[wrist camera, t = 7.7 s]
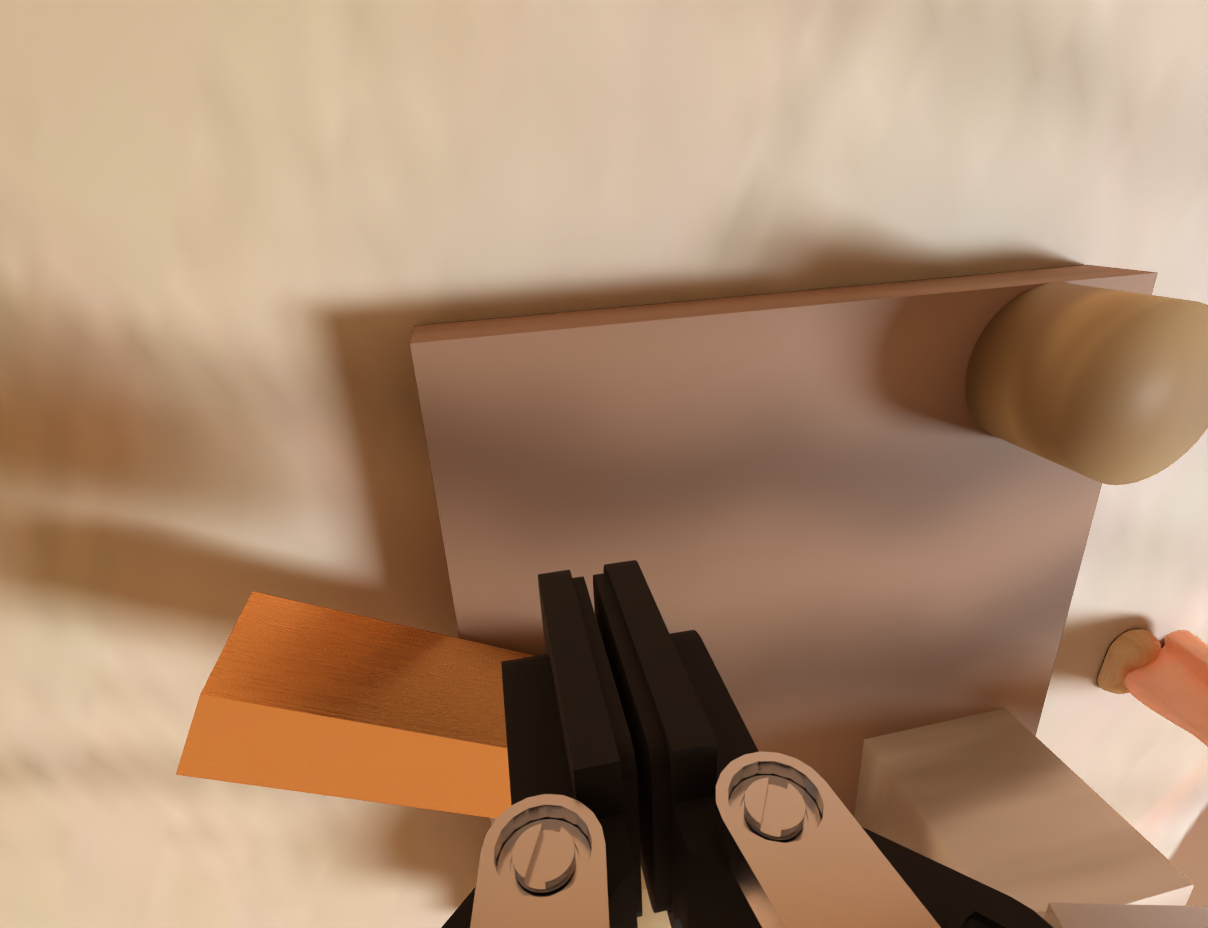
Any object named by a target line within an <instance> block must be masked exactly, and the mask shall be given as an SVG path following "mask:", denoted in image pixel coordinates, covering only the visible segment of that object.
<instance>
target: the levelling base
mask: <svg viewBox="0 0 1208 928" xmlns="http://www.w3.org/2000/svg"><path fill="white" fill-rule="evenodd" d="M1156 277H1157V273H1156V272H1147V271H1138V270H1129V269H1120V268H1111V267H1102V266H1093V265H1080V266H1069V267H1058V268H1047V269H1036V270H1025V271H1014V272H1003V273H992V274H981V275H970V276H959V277H948V278H937V279H925V280H914V281H903V282H892V283H881V284H870V285H859V286H848V287H837V288H826V289H815V290H804V291H793V292H782V293H771V294H760V295H749V296H738V297H727V298H715V299H704V300H693V301H682V302H671V303H660V304H649V305H638V306H627V307H616V308H605V309H594V310H583V311H572V312H561V313H550V314H539V315H528V316H516V317H505V318H494V319H483V320H472V321H461V322H450V323H439V324H428V325H417V326H415V327H414V331H413V334H412V338H411V341H410V348H411V354H412V360H413V365H414V371H415V377H416V383H417V389H418V395H419V401H420V407H421V413H422V419H423V425H424V431H425V437H426V442H427V448H428V454H429V460H430V466H431V472H432V478H433V484H434V490H435V496H436V502H437V508H438V514H439V519H440V525H441V531H442V537H443V543H444V549H445V555H446V561H447V567H448V573H449V579H450V585H451V591H452V596H453V602H454V608H455V614H456V620H457V626H458V632H459V638H460V639H464V640H468V641H472V642H477V643H481V644H485V645H490V646H494V647H499V648H503V649H507V650H512V651H516V652H520V653H525V654H529V655H533V656H537V655H543V654H546V651H545V642H544V633H543V623H542V614H541V604H540V595H539V586H538V574H543V573H550V572H556V571H563V570H570V572H571V575H572V578H575V577H582V576H583V577H584V579H585V582H586V585H587V589H588V592H589V596H590V599H591V603H592V606H593V609H594V613H595V608H594V593H593V575H595V574H602V573H603V569H604V564H611V563H618V562H625V561H631V560H636V561H637V562H638V564H639V566H640V568H641V571H642V573H643V575H644V577H645V580H646V582H647V584H648V586H649V589H650V591H651V593H652V595H653V598H654V600H655V602H656V604H657V607H658V609H659V611H660V613H661V616H662V618H663V620H664V622H665V625H666V627H667V629H668V632H669V634H670V633H676V632H683V631H689V630H695V631H697V632H698V634H699V635H700V637H701V638H702V640H703V642H704V644H705V646H706V648H707V650H708V652H709V654H710V656H711V658H712V660H713V662H714V664H715V666H716V668H717V670H718V672H719V674H720V676H721V678H722V680H723V682H724V684H725V686H726V688H727V690H728V692H729V694H730V696H731V698H732V700H733V702H734V704H735V706H736V707H737V709H738V711H739V713H740V715H741V717H742V719H743V721H744V723H745V725H746V727H747V729H748V731H749V733H750V735H751V737H752V739H753V741H754V743H755V745H756V747H757V749H758V751H759V752H760V751H762V752H776V753H781V754H784V755H787V756H790V757H794V758H796V759H798V760H800V761H801V762H803V763H805V764H806V765H808V766H810V767H812V768H813V769H814V770H815V771H816V772H817V773H818V774H819V775H820V776H821V777H822V778H823V779H824V780H825V781H826V782H827V784H828V785H829V786H830V787H831V789H832V790H833V791H834V793H835V794H836V795H837V796H838V798H839V799H840V800H841V801H842V803H843V804H844V805H845V807H846V808H847V809H848V810H849V812H850V813H851V814H852V815H853V817H854V818H855V819H856V820H857V822H858V823H859V824H860V826H862V827H864V828H866V829H868V830H870V831H872V832H874V833H876V834H879V835H881V836H883V837H885V838H887V839H889V840H891V841H893V842H896V843H898V844H900V845H902V846H904V847H906V848H908V849H910V850H913V851H915V852H917V853H919V854H921V855H923V856H925V857H928V858H930V859H932V860H934V861H936V862H938V863H940V864H942V865H945V866H947V867H949V868H951V869H953V870H955V871H957V872H959V873H962V874H964V875H966V876H968V877H970V878H972V879H974V880H977V881H979V882H981V883H983V884H985V885H987V886H989V887H991V888H994V889H996V890H998V891H1000V892H1002V893H1004V894H1006V895H1008V896H1011V897H1012V898H1014V899H1016V900H1017V901H1019V902H1021V903H1022V904H1024V905H1026V906H1027V907H1029V908H1031V909H1032V910H1034V911H1036V912H1046V910H1047V907H1048V904H1049V903H1088V904H1131V905H1174V906H1185V905H1186V902H1187V900H1188V898H1189V896H1190V893H1191V891H1192V889H1193V887H1194V883H1192V882H1191V881H1190V880H1189V879H1188V878H1187V877H1186V876H1185V875H1184V874H1183V873H1181V871H1180V870H1179V869H1177V868H1176V867H1175V866H1174V865H1173V864H1172V863H1171V862H1170V861H1169V860H1168V859H1167V858H1166V857H1165V856H1163V855H1162V854H1161V853H1160V852H1159V851H1158V850H1157V849H1156V848H1155V847H1154V846H1153V845H1152V844H1151V843H1149V842H1148V841H1147V840H1146V839H1145V838H1144V837H1143V836H1142V835H1141V834H1140V833H1139V832H1138V831H1137V830H1135V829H1134V828H1133V827H1132V826H1131V825H1130V824H1129V823H1128V822H1127V821H1126V820H1125V819H1124V818H1123V817H1121V816H1120V815H1119V814H1118V813H1117V812H1116V811H1115V810H1114V809H1113V808H1112V807H1111V806H1110V805H1109V804H1107V803H1106V802H1105V801H1104V800H1103V799H1102V798H1101V797H1100V796H1099V795H1098V794H1097V793H1096V792H1095V791H1093V790H1092V789H1091V788H1090V787H1089V786H1088V785H1087V784H1086V783H1085V782H1084V781H1083V780H1082V779H1081V778H1079V777H1078V776H1077V775H1076V774H1075V773H1074V772H1073V771H1072V770H1071V769H1070V768H1069V767H1068V766H1067V765H1065V764H1064V763H1063V762H1062V761H1061V760H1060V759H1059V758H1058V757H1057V756H1056V755H1055V754H1054V753H1053V752H1051V751H1050V750H1049V749H1048V748H1047V747H1046V746H1045V745H1044V744H1043V743H1042V742H1041V741H1040V740H1039V739H1037V738H1036V737H1035V735H1036V732H1037V728H1038V724H1039V720H1040V717H1041V713H1042V709H1043V705H1044V701H1045V698H1046V694H1047V690H1048V686H1049V682H1050V679H1051V675H1052V671H1053V667H1054V663H1055V660H1056V656H1057V652H1058V648H1059V644H1060V641H1061V637H1062V633H1063V629H1064V626H1065V622H1066V618H1067V614H1068V610H1069V607H1070V603H1071V599H1072V595H1073V591H1074V588H1075V584H1076V580H1077V576H1078V572H1079V569H1080V565H1081V561H1082V557H1083V553H1084V550H1085V546H1086V542H1087V538H1088V535H1089V531H1090V527H1091V523H1092V519H1093V516H1094V512H1095V508H1096V504H1097V500H1098V497H1099V493H1100V489H1101V485H1102V483H1104V484H1110V485H1122V484H1129V483H1134V482H1138V481H1141V480H1143V479H1146V478H1149V477H1151V476H1153V475H1155V474H1157V473H1159V472H1160V471H1162V470H1164V469H1165V468H1167V467H1168V466H1170V465H1171V464H1173V463H1174V462H1175V461H1177V460H1178V459H1179V458H1180V457H1181V456H1183V455H1184V454H1185V453H1186V452H1187V451H1188V450H1189V449H1190V448H1191V447H1192V446H1193V445H1194V444H1195V443H1196V442H1197V441H1198V439H1199V438H1200V437H1201V436H1202V435H1203V433H1204V432H1205V431H1206V429H1207V428H1208V305H1206V304H1203V303H1200V302H1196V301H1189V300H1182V299H1175V298H1168V297H1161V296H1154V295H1152V292H1153V288H1154V284H1155V280H1156ZM495 820H496V819H495V818H490V822H491V826H492V824H493V823H494V821H495ZM642 911H643V914H642V916H641V917H637V923H638V928H671V925H670V921H669V917H668V914H667V911H663V912H659V913H654V912H653V910H652V907H651V903H650V900H649V896H648V892H647V889H642Z"/></svg>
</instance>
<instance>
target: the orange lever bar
mask: <svg viewBox="0 0 1208 928" xmlns="http://www.w3.org/2000/svg"><path fill="white" fill-rule="evenodd" d="M531 656H533V655H529V654H525V653H520V652H516V651H512V650H507V649H503V648H499V647H494V646H490V645H485V644H481V643H477V642H472V641H468V640H464V639H459V638H455V637H450V636H446V635H442V634H437V633H433V632H429V631H424V630H420V629H415V628H411V627H407V626H402V625H398V624H394V623H389V622H385V621H380V620H376V619H372V618H367V617H363V616H359V615H354V614H350V613H346V612H341V611H337V610H332V609H328V608H324V607H319V606H315V605H311V604H306V603H302V602H297V601H293V600H289V599H284V598H280V597H276V596H271V595H267V594H262V593H258V592H254V591H252V593H251V595H250V597H249V599H248V601H247V603H246V605H245V607H244V609H243V611H242V613H241V615H240V617H239V619H238V621H237V623H236V625H235V627H234V629H233V631H232V633H231V635H230V637H229V639H228V641H227V643H226V645H225V647H224V648H223V650H222V652H221V654H220V656H219V658H218V660H217V662H216V664H215V666H214V668H213V670H212V672H211V674H210V676H209V678H208V680H207V682H206V684H205V686H204V688H203V690H202V692H201V694H200V697H199V700H198V704H197V707H196V710H195V714H194V717H193V720H192V723H191V727H190V730H189V733H188V737H187V740H186V743H185V746H184V750H183V753H182V756H181V759H180V763H179V766H178V769H177V773H176V775H183V776H190V777H197V778H205V779H212V780H219V781H226V782H234V783H241V784H248V785H256V786H263V787H270V788H277V789H285V790H292V791H299V792H306V793H314V794H321V795H328V796H335V797H343V798H350V799H357V800H364V801H372V802H379V803H386V804H394V805H401V806H408V807H415V808H423V809H430V810H437V811H444V812H452V813H459V814H466V815H473V816H481V817H488V818H495V819H496V818H498V817H499V816H500V815H501V814H502V813H503V812H504V811H506V810H507V809H508V808H509V807H510V806H511V793H510V779H509V765H508V751H507V737H506V723H505V709H504V696H503V682H502V667H501V661H507V660H513V659H519V658H525V657H531ZM641 884H642V889H647V888H646V884H645V880H644V876H643V872H642V868H641Z"/></svg>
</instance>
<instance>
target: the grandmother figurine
mask: <svg viewBox="0 0 1208 928" xmlns="http://www.w3.org/2000/svg"><path fill="white" fill-rule="evenodd" d="M1164 642H1165V645H1164V647H1163V648H1161V644H1160V642H1159V640H1158V639H1157V638H1156V637H1155V636H1154V635H1153V634H1152V633H1151V632H1150V631H1148V630H1142V629H1134V630H1130V631H1127V632H1125V633H1123V634H1122V635H1121V636H1119V637H1118V638H1117V639H1116V640H1115V641H1114V642H1113V643H1112V645H1111V646H1110V648H1109V650H1108V652H1107V655H1106V657H1105V660H1104V663H1103V665H1102V668H1101V670H1100V673H1099V676H1098V685H1099V687H1100V688H1102V689H1104V690H1106V691H1109V692H1112V693H1117V694H1124V693H1129V692H1130V693H1131V694H1132V695H1133V696H1134V697H1135V698H1137V699H1138V700H1139V701H1140V702H1142V703H1143V704H1144V705H1146V706H1147V707H1149V708H1150V709H1151V710H1153V711H1155V712H1157V713H1158V714H1160V715H1161V716H1163V717H1165V718H1166V719H1168V720H1169V721H1171V722H1173V723H1174V724H1176V725H1177V726H1179V727H1181V728H1183V729H1185V730H1186V731H1188V732H1189V733H1191V734H1193V735H1194V736H1195V737H1197V738H1198V739H1199V740H1200V741H1202V742H1203V743H1204V744H1205V745H1206V746H1208V645H1207V644H1206V643H1204V642H1203V641H1201V640H1200V639H1199V638H1198V637H1196V636H1195V635H1193V634H1192V633H1190V632H1189V631H1185V630H1178V631H1175V632H1171V633H1170V634H1168V635H1166V638H1165V639H1164Z"/></svg>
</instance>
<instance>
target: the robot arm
mask: <svg viewBox="0 0 1208 928" xmlns="http://www.w3.org/2000/svg"><path fill="white" fill-rule="evenodd" d="M538 586H539V595H540V604H541V614H542V623H543V633H544V642H545V651H546V654H543V655H537V656H531V657H525V658H519V659H513V660H507V661H501V667H502V682H503V696H504V709H505V723H506V737H507V751H508V765H509V779H510V793H511V806H510V807H509V808H508V809H507V810H506V811H504V812H503V813H502V814H501V815H500V816H499V817H498V818H496V820H495V821H494V823H493V824H492V826H491V827H490V829H489V830H488V832H487V833H486V836H485V839H484V842H483V846H482V849H481V852H480V860H479V867H478V874H477V881H476V887H475V888H474V889H473V891H472V892H471V893H470V894H469V895H468V897H467V898H466V899H465V900H464V901H463V903H462V904H461V905H460V906H459V907H458V909H457V910H456V911H455V912H454V913H453V915H452V916H451V917H450V918H449V919H448V921H447V922H446V923H445V924H444V925H443V926H442V928H638V923H637V917H641V916H642V914H643V911H642V884H641V868H642V872H643V876H644V880H645V884H646V888H647V892H648V896H649V900H650V903H651V907H652V910H653V912H654V913H659V912H663V911H667V914H668V917H669V921H670V925H671V928H1208V906H1174V905H1131V904H1088V903H1049V904H1048V907H1047V910H1046V912H1036V911H1034V910H1032V909H1031V908H1029V907H1027V906H1026V905H1024V904H1022V903H1021V902H1019V901H1017V900H1016V899H1014V898H1012V897H1011V896H1008V895H1006V894H1004V893H1002V892H1000V891H998V890H996V889H994V888H991V887H989V886H987V885H985V884H983V883H981V882H979V881H977V880H974V879H972V878H970V877H968V876H966V875H964V874H962V873H959V872H957V871H955V870H953V869H951V868H949V867H947V866H945V865H942V864H940V863H938V862H936V861H934V860H932V859H930V858H928V857H925V856H923V855H921V854H919V853H917V852H915V851H913V850H910V849H908V848H906V847H904V846H902V845H900V844H898V843H896V842H893V841H891V840H889V839H887V838H885V837H883V836H881V835H879V834H876V833H874V832H872V831H870V830H868V829H866V828H864V827H862V826H860V824H859V823H858V822H857V820H856V819H855V818H854V817H853V815H852V814H851V813H850V812H849V810H848V809H847V808H846V807H845V805H844V804H843V803H842V801H841V800H840V799H839V798H838V796H837V795H836V794H835V793H834V791H833V790H832V789H831V787H830V786H829V785H828V784H827V782H826V781H825V780H824V779H823V778H822V777H821V776H820V775H819V774H818V773H817V772H816V771H815V770H814V769H813V768H812V767H810V766H808V765H806V764H805V763H803V762H801V761H800V760H798V759H796V758H794V757H790V756H787V755H784V754H781V753H776V752H762V751H760V752H759V751H758V749H757V747H756V745H755V743H754V741H753V739H752V737H751V735H750V733H749V731H748V729H747V727H746V725H745V723H744V721H743V719H742V717H741V715H740V713H739V711H738V709H737V707H736V706H735V704H734V702H733V700H732V698H731V696H730V694H729V692H728V690H727V688H726V686H725V684H724V682H723V680H722V678H721V676H720V674H719V672H718V670H717V668H716V666H715V664H714V662H713V660H712V658H711V656H710V654H709V652H708V650H707V648H706V646H705V644H704V642H703V640H702V638H701V637H700V635H699V634H698V632H697V631H695V630H689V631H683V632H676V633H670V634H669V632H668V629H667V627H666V625H665V622H664V620H663V618H662V616H661V613H660V611H659V609H658V607H657V604H656V602H655V600H654V598H653V595H652V593H651V591H650V589H649V586H648V584H647V582H646V580H645V577H644V575H643V573H642V571H641V568H640V566H639V564H638V562H637V561H636V560H631V561H625V562H618V563H611V564H604V569H603V573H602V574H595V575H593V593H594V608H595V613H594V609H593V606H592V603H591V599H590V596H589V592H588V589H587V585H586V582H585V579H584V577H583V576H582V577H575V578H572V575H571V572H570V570H563V571H556V572H550V573H543V574H538Z"/></svg>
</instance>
